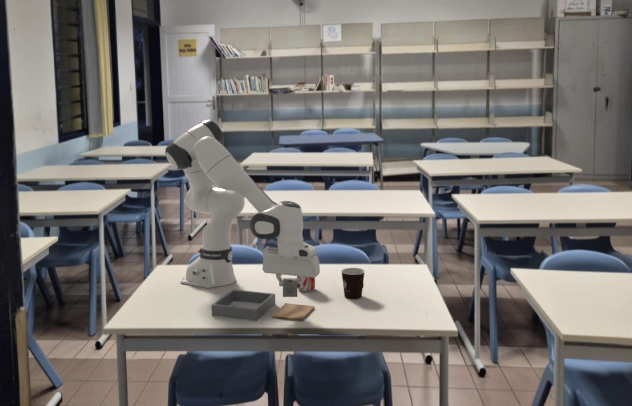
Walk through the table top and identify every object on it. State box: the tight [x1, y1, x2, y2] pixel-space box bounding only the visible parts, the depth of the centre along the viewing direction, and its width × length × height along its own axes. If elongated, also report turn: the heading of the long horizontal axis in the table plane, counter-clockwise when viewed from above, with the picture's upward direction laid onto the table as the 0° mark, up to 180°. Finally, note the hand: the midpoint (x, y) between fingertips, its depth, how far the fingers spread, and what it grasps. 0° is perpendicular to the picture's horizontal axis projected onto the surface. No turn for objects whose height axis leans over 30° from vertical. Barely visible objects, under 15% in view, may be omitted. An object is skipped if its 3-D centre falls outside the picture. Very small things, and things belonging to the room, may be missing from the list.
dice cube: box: [282, 277, 298, 298], centre depth 220 cm, size 5×5×5 cm
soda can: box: [296, 276, 316, 293], centre depth 246 cm, size 7×7×12 cm
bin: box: [211, 289, 276, 322], centre depth 226 cm, size 17×17×4 cm
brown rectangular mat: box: [271, 302, 315, 322], centre depth 223 cm, size 11×13×1 cm
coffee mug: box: [341, 267, 365, 300], centre depth 236 cm, size 12×9×10 cm
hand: (291, 286), depth 220 cm, fingers closed on dice cube, 5 cm apart
